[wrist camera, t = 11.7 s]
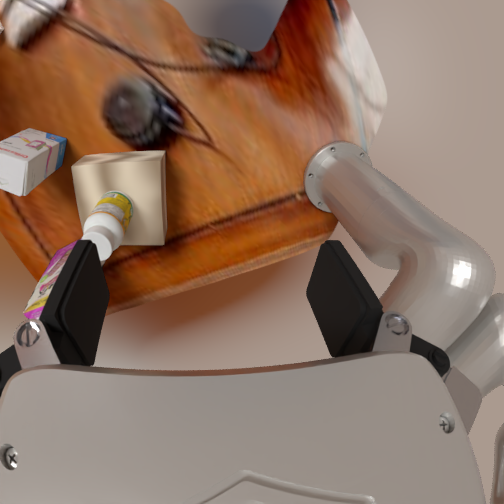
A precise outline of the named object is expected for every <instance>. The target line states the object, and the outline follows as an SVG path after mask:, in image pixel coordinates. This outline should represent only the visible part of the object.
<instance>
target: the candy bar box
mask: <svg viewBox="0 0 504 504" xmlns="http://www.w3.org/2000/svg"><path fill="white" fill-rule="evenodd" d="M81 239H82V238H81ZM81 239H79V240H81ZM77 241H78V240H77ZM77 241H75V242H73V243H71V244H69V245H67V246H65V247H64V248H62V249H60V250H58V251H57V252H56V253H55V255H54V257H53V258H52V260H51V262H50V263H49V265H48V267H47V268H46V270H45V272H44V274H43V275H42V277H41V279H40V281H39V283H38V284H37V286H36V288H35V290H34V292H33V294H32V296H31V298H30V300H29V302H28V304H27V306H26V308H25V310H24V312H23V314H24V315H25V316H26V317H27V318H28V319H32V318H34V319H38V320H39V317H40V315H41V312H42V310H43V307H44V305H45V303H46V301H47V298H48V296H49V294H50V292H51V290H52V287H53V285H54V283H55V281H56V279H57V277H58V275H59V274H60V272H61V270H62V268H63V266H64V264H65V262H66V260H67V258H68V256H69V254H70V253H71V251H72V249H73V247H74V245H75V244H76V242H77ZM100 262H101V265H102V267H103V265H104V263H105V260H103V261H100Z"/></svg>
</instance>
